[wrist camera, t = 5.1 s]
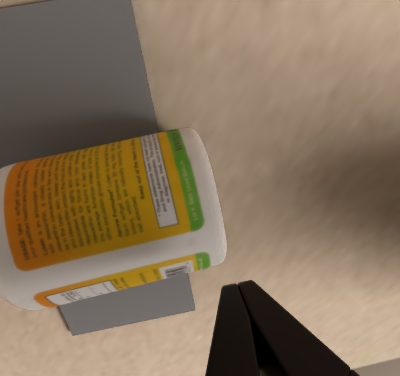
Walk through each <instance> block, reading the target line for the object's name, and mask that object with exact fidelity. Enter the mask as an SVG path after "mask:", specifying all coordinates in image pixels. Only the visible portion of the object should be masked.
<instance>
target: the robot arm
mask: <svg viewBox="0 0 400 376" xmlns="http://www.w3.org/2000/svg"><path fill="white" fill-rule="evenodd" d="M205 376H359V375H358V374H357V373H356V372H355V371H354V370H350V367H349V366H348V365H347V364H346V363H345V362H344V361H343V360H341V359H340V358H339V357H338V356H337V355H336V354H335V353H334V352H332V351H331V350H330V349H329V348H328V347H327V346H326V345H325V344H323V343H322V342H321V341H320V340H319V339H318V338H317V337H316V336H314V335H313V334H312V333H311V332H310V331H309V330H308V329H307V328H306V327H304V326H303V325H302V324H301V323H300V322H299V321H298V320H297V319H295V318H294V317H293V316H292V315H291V314H290V313H289V312H288V311H286V310H285V309H284V308H283V307H282V306H281V305H280V304H279V303H278V302H276V301H275V300H274V299H273V298H272V297H271V296H270V295H269V294H267V293H266V292H265V291H264V290H263V289H262V288H261V287H260V286H258V285H257V284H256V283H255V282H254V281H252V280H248V281H244V282H239V283H238V285H237V284H236V283H234V284H229V285H224V286H223V287H222V289H221V295H220V300H219V305H218V311H217V316H216V321H215V327H214V332H213V337H212V343H211V348H210V353H209V358H208V364H207V369H206V374H205Z"/></svg>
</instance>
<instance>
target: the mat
mask: <svg viewBox="0 0 400 376" xmlns="http://www.w3.org/2000/svg"><path fill="white" fill-rule="evenodd" d="M155 133H158V128H157V123H156V118H155V114H154V109H153V104H152V99H151V95H150V90H149V85H148V80H147V75H146V71H145V66H144V61H143V56H142V51H141V47H140V42H139V37H138V32H137V28H136V23H135V18H134V13H133V8H132V4H131V0H51V1H45V2H39V3H32V4H26V5H20V6H13V7H7V8H0V169H1V168H3V167H5V166H8V165H12V164H15V163H19V162H23V161H28V160H33V159H38V158H43V157H48V156H52V155H57V154H62V153H67V152H71V151H76V150H81V149H85V148H90V147H95V146H99V145H104V144H109V143H114V142H119V141H123V140H128V139H132V138H137V137H142V136H146V135H151V134H155ZM59 307H60V310H61V312H62V314H63V316H64V318H65V320H66V322H67V325H68V327H69V329H70V331H71V333H72V335H73V336H74V335H79V334H84V333H89V332H94V331H98V330H103V329H108V328H113V327H118V326H122V325H127V324H132V323H137V322H141V321H146V320H151V319H156V318H161V317H165V316H170V315H175V314H180V313H185V312H189V311H194V310H195V305H194V300H193V296H192V291H191V286H190V281H189V276H188V273H186V274H182V275H178V276H174V277H170V278H166V279H162V280H158V281H154V282H150V283H146V284H143V285H138V286H134V287H131V288H127V289H123V290H119V291H114V292H111V293H106V294H102V295H98V296H94V297H90V298H86V299H82V300H78V301H75V302H71V303H67V304H63V305H59Z"/></svg>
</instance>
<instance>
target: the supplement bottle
mask: <svg viewBox="0 0 400 376" xmlns="http://www.w3.org/2000/svg"><path fill="white" fill-rule="evenodd" d="M226 252H227V241H226V235H225V229H224V223H223V217H222V212H221V207H220V202H219V198H218V193H217V189H216V185H215V180H214V176H213V172H212V168H211V165H210V161H209V157H208V154H207V151H206V149H205V146H204V144H203V142H202V140H201V138H200V136H199V134H198V133H197V132H196V131H195V130H194V129H192V128H181V129H175V130H170V131H165V132H160V133H155V134H151V135H146V136H142V137H137V138H132V139H128V140H123V141H119V142H114V143H109V144H104V145H99V146H95V147H90V148H85V149H81V150H76V151H71V152H67V153H62V154H57V155H52V156H48V157H43V158H38V159H33V160H28V161H23V162H19V163H15V164H12V165H8V166H5V167H3V168H1V169H0V297H1V296H2V297H3V298H4V299H6V300H7V301H8V302H10V303H11V304H13V305H15V306H17V307H19V308H22V309H26V310H40V309H45V308H51V307H55V306H59V305H63V304H67V303H71V302H75V301H78V300H82V299H86V298H90V297H94V296H98V295H102V294H106V293H111V292H114V291H119V290H123V289H127V288H131V287H134V286H138V285H143V284H146V283H150V282H154V281H158V280H162V279H166V278H170V277H174V276H178V275H182V274H186V273H190V272H194V271H198V270H202V269H206V268H208V267H212V266H215V265H218V264H220V263H222V262H223V261H224V259H225V257H226Z"/></svg>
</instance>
